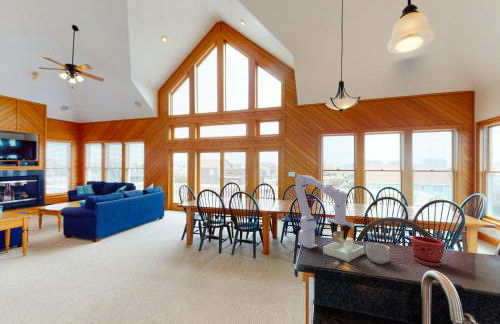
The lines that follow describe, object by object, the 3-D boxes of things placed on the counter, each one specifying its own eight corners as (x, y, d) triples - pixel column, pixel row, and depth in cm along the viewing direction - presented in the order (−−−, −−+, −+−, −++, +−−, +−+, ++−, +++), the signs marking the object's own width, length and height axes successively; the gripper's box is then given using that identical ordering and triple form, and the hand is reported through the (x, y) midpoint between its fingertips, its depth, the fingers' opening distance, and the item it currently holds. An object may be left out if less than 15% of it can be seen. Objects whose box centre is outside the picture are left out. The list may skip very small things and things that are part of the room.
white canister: (342, 250, 126) (342, 238, 126) (346, 248, 129) (346, 236, 129) (350, 253, 122) (350, 240, 122) (355, 251, 125) (355, 239, 125)
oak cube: (333, 241, 120) (333, 232, 121) (337, 239, 124) (337, 230, 124) (341, 243, 116) (341, 234, 117) (346, 241, 120) (346, 232, 120)
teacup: (389, 268, 105) (388, 251, 105) (364, 262, 111) (364, 246, 112) (391, 259, 116) (391, 244, 116) (368, 254, 122) (368, 239, 123)
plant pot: (431, 269, 104) (431, 244, 105) (405, 258, 117) (405, 236, 117) (451, 266, 107) (450, 242, 108) (423, 256, 120) (423, 234, 121)
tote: (323, 253, 122) (323, 246, 122) (340, 246, 134) (340, 240, 134) (348, 261, 111) (348, 253, 111) (364, 253, 123) (364, 246, 123)
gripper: (324, 212, 124) (324, 236, 123) (349, 216, 113) (349, 242, 112) (331, 210, 129) (330, 234, 128) (355, 214, 117) (355, 240, 117)
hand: (340, 238), depth 120 cm, fingers closed on oak cube, 5 cm apart
